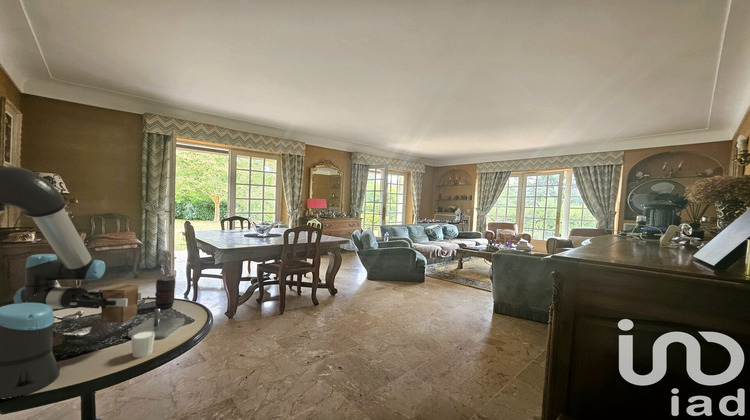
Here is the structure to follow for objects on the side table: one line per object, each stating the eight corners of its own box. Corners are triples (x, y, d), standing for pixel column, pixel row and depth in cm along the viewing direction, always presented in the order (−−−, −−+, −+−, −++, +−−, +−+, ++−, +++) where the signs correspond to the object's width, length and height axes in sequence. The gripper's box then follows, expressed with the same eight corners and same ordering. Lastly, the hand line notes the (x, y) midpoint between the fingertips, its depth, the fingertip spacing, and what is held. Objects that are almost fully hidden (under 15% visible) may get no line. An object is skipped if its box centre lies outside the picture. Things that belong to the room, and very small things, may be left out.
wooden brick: (100, 322, 108) (102, 289, 108) (116, 314, 115) (118, 284, 115) (122, 322, 109) (124, 290, 108) (136, 315, 116) (138, 284, 116)
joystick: (128, 337, 118) (129, 314, 118) (151, 323, 132) (151, 302, 132) (165, 338, 120) (166, 315, 120) (184, 323, 134) (184, 303, 134)
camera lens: (164, 311, 146) (165, 281, 146) (150, 309, 148) (152, 279, 147) (178, 305, 154) (179, 277, 153) (165, 303, 156) (166, 275, 155)
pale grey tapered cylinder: (144, 359, 104) (145, 339, 104) (125, 357, 105) (126, 338, 104) (158, 349, 111) (159, 331, 111) (141, 348, 111) (141, 330, 111)
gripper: (91, 299, 120) (151, 300, 122) (40, 317, 100) (113, 319, 102) (92, 280, 120) (152, 282, 122) (41, 295, 100) (114, 297, 102)
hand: (134, 299), depth 112 cm, fingers closed on wooden brick, 7 cm apart
